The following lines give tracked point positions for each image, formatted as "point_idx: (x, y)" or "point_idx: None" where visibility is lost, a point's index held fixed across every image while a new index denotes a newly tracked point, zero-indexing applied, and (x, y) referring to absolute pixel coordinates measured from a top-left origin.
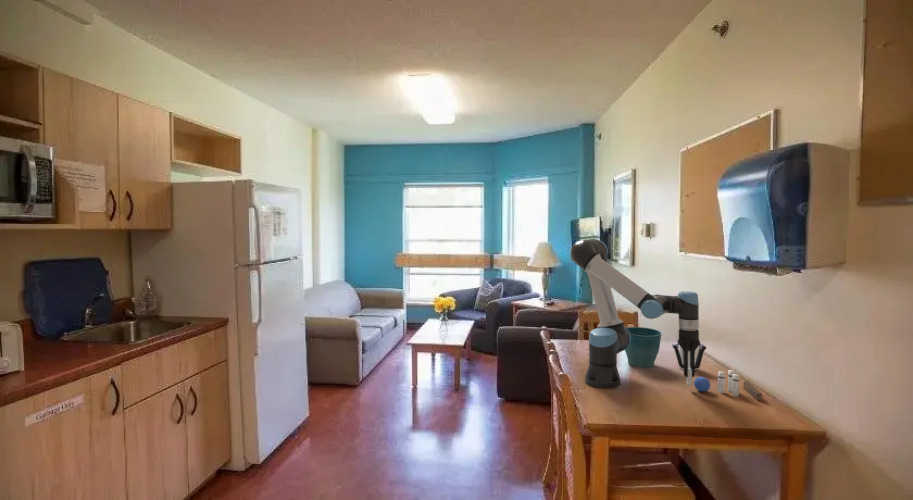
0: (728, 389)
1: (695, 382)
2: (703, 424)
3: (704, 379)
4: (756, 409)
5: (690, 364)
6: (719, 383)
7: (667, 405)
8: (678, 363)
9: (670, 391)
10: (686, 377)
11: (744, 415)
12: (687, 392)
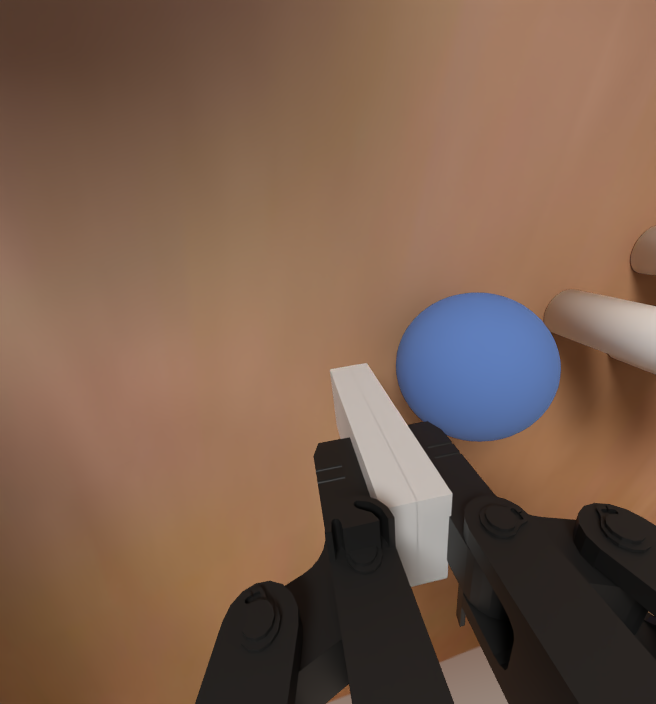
0: (645, 262)
1: (415, 406)
2: (339, 697)
3: (520, 429)
4: (607, 496)
5: (508, 610)
6: (623, 355)
7: (194, 637)
8: (203, 693)
9: (191, 443)
10: (341, 403)
11: None
12: (320, 411)
